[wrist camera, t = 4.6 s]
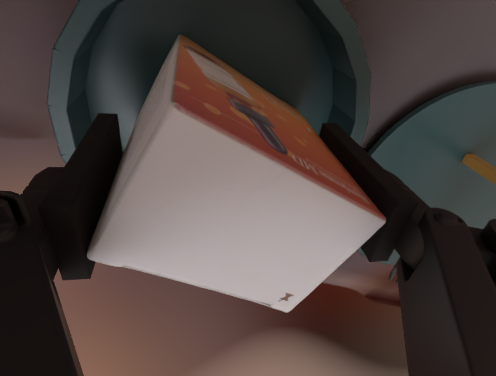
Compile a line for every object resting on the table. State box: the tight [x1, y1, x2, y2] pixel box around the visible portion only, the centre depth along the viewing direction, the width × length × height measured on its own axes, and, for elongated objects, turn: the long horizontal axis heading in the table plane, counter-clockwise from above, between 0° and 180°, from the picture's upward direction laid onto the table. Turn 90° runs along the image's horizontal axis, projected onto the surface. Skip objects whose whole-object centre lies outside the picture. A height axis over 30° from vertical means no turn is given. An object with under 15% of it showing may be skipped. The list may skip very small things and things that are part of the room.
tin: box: [47, 0, 371, 164], centre depth 17 cm, size 16×16×3 cm
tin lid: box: [357, 81, 496, 265], centre depth 21 cm, size 17×17×8 cm
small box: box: [87, 34, 386, 313], centre depth 13 cm, size 8×6×10 cm
